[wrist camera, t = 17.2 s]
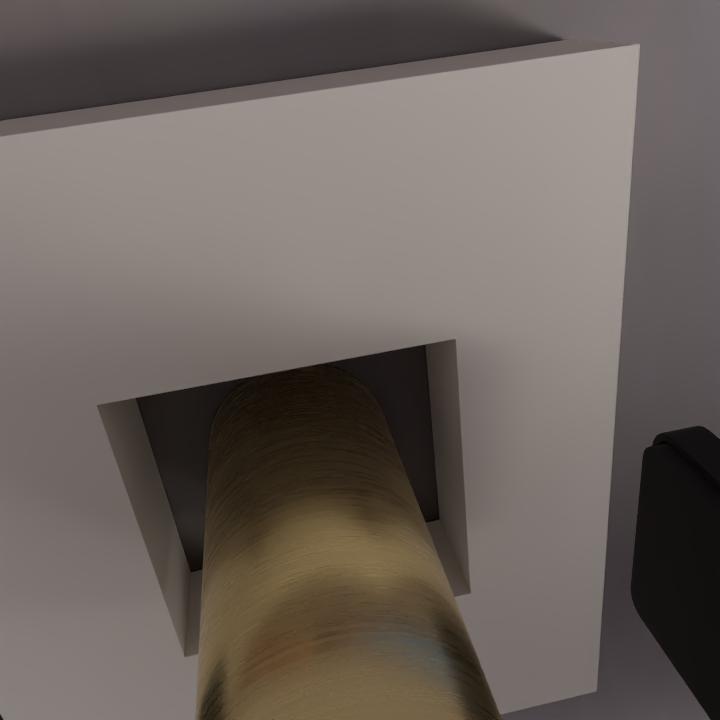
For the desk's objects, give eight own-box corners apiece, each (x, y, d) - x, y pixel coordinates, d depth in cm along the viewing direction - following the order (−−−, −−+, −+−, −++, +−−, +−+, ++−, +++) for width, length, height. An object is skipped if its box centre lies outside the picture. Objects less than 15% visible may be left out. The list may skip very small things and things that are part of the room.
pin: (375, 347, 12) (681, 1032, 4) (393, 493, 13) (640, 1205, 5) (190, 382, 11) (99, 1204, 3) (229, 527, 13) (228, 1337, 5)
